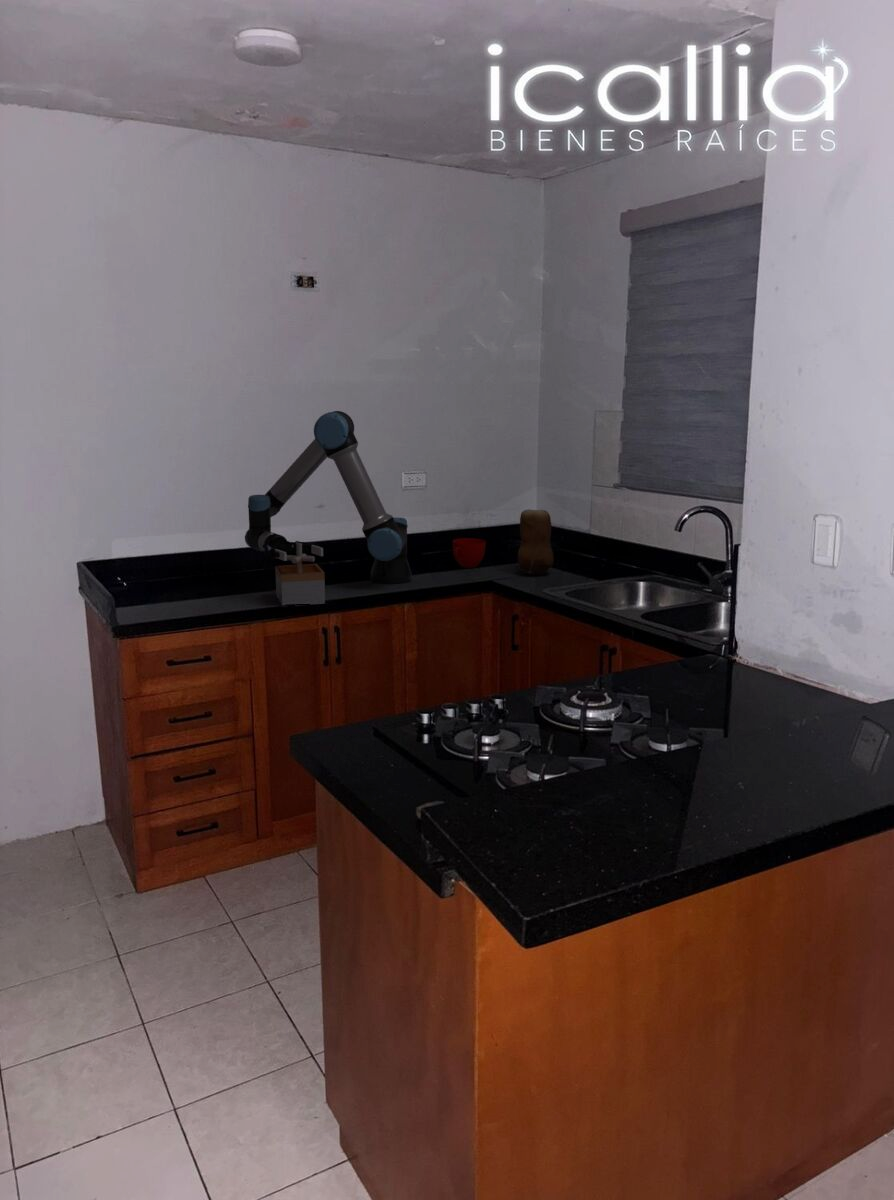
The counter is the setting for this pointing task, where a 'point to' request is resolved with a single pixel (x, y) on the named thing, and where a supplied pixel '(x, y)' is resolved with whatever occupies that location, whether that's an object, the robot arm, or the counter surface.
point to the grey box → (300, 584)
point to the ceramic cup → (468, 551)
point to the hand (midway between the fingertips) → (304, 554)
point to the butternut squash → (535, 542)
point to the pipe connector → (299, 557)
